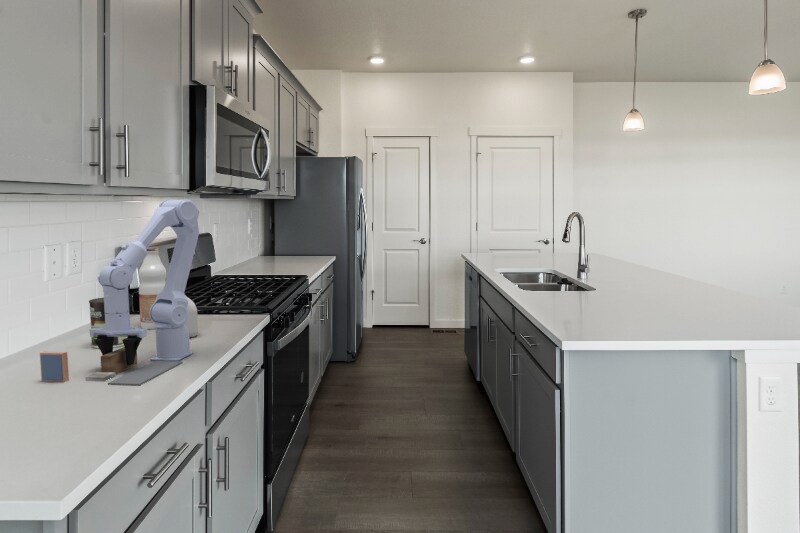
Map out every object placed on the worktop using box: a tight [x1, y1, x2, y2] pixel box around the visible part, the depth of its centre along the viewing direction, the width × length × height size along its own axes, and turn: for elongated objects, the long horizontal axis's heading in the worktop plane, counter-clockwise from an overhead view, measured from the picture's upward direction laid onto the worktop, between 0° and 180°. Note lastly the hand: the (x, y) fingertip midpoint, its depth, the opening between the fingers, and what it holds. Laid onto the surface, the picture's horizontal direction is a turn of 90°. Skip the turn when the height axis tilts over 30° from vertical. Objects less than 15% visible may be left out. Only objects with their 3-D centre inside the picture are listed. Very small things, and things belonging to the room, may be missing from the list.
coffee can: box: [88, 297, 127, 349], centre depth 185 cm, size 10×10×14 cm
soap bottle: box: [184, 293, 199, 338], centre depth 195 cm, size 10×10×23 cm
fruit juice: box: [138, 246, 168, 330], centre depth 212 cm, size 9×9×28 cm
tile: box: [39, 350, 70, 383], centre depth 146 cm, size 2×6×7 cm, turn 83°
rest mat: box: [107, 360, 184, 386], centre depth 153 cm, size 21×8×1 cm, turn 173°
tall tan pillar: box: [84, 346, 138, 382], centre depth 154 cm, size 16×5×5 cm, turn 173°
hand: (119, 364), depth 156 cm, fingers open, 5 cm apart
